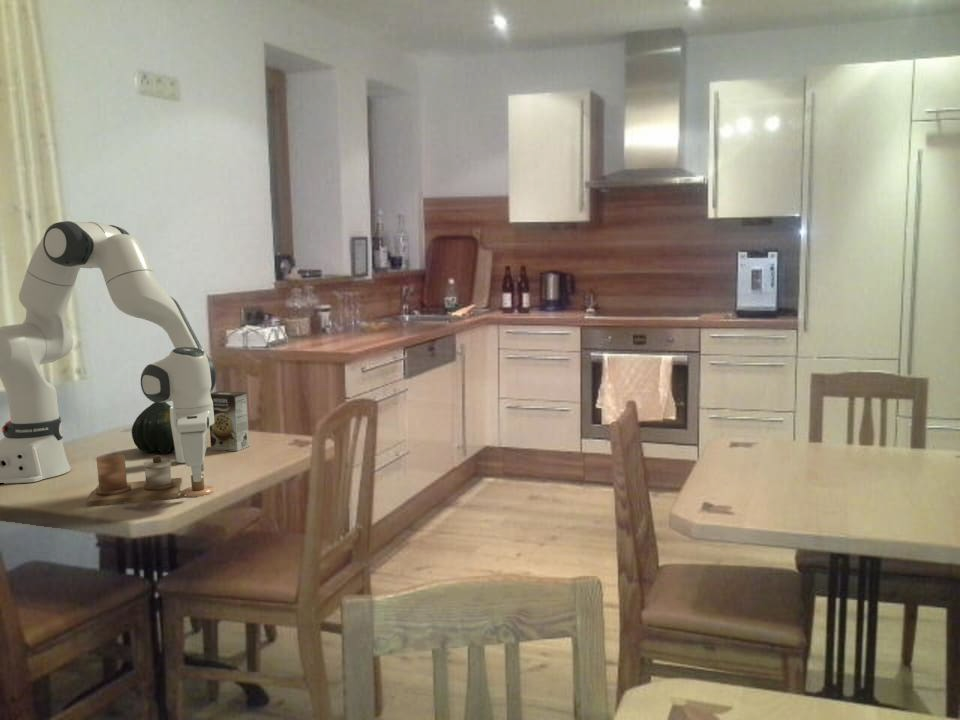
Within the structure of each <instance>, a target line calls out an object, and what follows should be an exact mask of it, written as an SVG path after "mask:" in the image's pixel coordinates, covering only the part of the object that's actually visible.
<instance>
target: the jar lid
mask: <svg viewBox="0 0 960 720" xmlns="http://www.w3.org/2000/svg"><path fill="white" fill-rule="evenodd" d="M201 475H202V480H201V481H200V482H194V481H193V474H191V475H190V480H191V486H189V487H187V488H185V489H183V490H182V495H183V494H184V495H186V496H201V497H205V496H204V495H206V496H209V495H211V494H213V493H214V492H215V491H214V486H211V485H206V484H205V480H204V479H205V477H204V473H201ZM184 495H183V496H184ZM186 496H185V497H186Z"/></svg>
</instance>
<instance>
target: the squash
mask: <svg viewBox="0 0 960 720" xmlns="http://www.w3.org/2000/svg"><path fill="white" fill-rule="evenodd" d="M170 407H172V405H170V404H169V403H168V402H152V403H151V404H150V405H149V406H147V407H146V408H145V409H144V410H143V411H141V413H140V414H139V415H138V416H137V417H136V419H135V420H134V422H133V424H132V428H131V437H132V438H131V439H132V441H133V443H134V445H135V446H136V447H137V449H139V450H140V451H141V452H143V453H152V452H154V451H156V452H157V451H158V452H160V453H161V454H164V455H165V454H168V453H169V452H175V447H174V441H173V435H172V429H171V423H170Z"/></svg>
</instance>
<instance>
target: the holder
mask: <svg viewBox="0 0 960 720" xmlns="http://www.w3.org/2000/svg"><path fill="white" fill-rule="evenodd" d="M142 465H143V468H144V475H145V476H144V477H145V480H139V481H130V482H129V481H128V480H127V478H128V477H127V468H126V457H125V454H122V453H121V454H120V453H117V454H115V453H114V454H107V455H101V456H98V457H97V458H96V467H97V479H98V480H97V481H98V485H97V486H96V487H95V489H94V490H93V492H92V493H91V495H90V496H89V497H88V499H87V501H86V504H87V507H96V506H97V507H98V506H106V505H105V504H109V505H116V504H115V503H119V504H125V503H124V502H130V503H136V502H135V501H141V502H148V501H147V500H151V501H158V500H157V499H162V500H169V499H168V498H173V499H177V498H178V497H179V494H178V493H180V490H181V487H182V484H183V478H182V477H174V478H173V477H172V473H171V472H172V471H171V465H172V461H171V459H169V458H162V456H161V454H160V455H159V454H158V455H153V456H152V459H151V460H147V461H145V462H143V463H142ZM181 483H182V484H181ZM180 486H181V487H180ZM177 496H178V497H177ZM176 497H177V498H176Z"/></svg>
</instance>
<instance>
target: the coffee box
mask: <svg viewBox="0 0 960 720" xmlns="http://www.w3.org/2000/svg"><path fill="white" fill-rule="evenodd" d="M210 394H211V398H212V401H213V410H214V424H212V425H211V426H210V427H209V438H210V439H209V440H210V450H213V451H226V450H229V451H230V452H239V451H242V450H244V449H246V447H247V448H249V447H250V437H249V419H248V417H249V415H248V414H249V413H248V399H247V398H248V397H247V396H248V395H247V392H246V391H234V390H233V391H230V390H229V391H226V390H219V391H214V392H213V391H212V392H210ZM248 446H249V447H248ZM243 448H244V449H243ZM241 449H242V450H241ZM229 451H228V452H229Z"/></svg>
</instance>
